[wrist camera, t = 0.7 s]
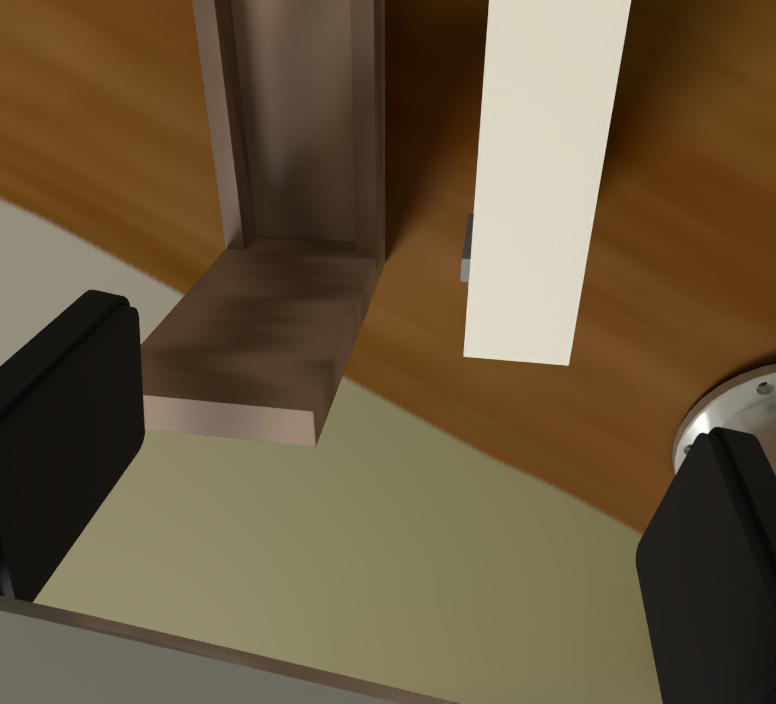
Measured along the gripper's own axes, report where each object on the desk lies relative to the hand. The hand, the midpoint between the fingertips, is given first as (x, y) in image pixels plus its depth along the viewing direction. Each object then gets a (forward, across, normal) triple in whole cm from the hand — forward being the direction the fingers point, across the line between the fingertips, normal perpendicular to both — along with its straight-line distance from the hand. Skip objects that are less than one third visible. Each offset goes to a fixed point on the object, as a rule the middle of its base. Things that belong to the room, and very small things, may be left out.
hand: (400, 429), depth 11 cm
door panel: (+26, -3, 0) cm, 26 cm away
